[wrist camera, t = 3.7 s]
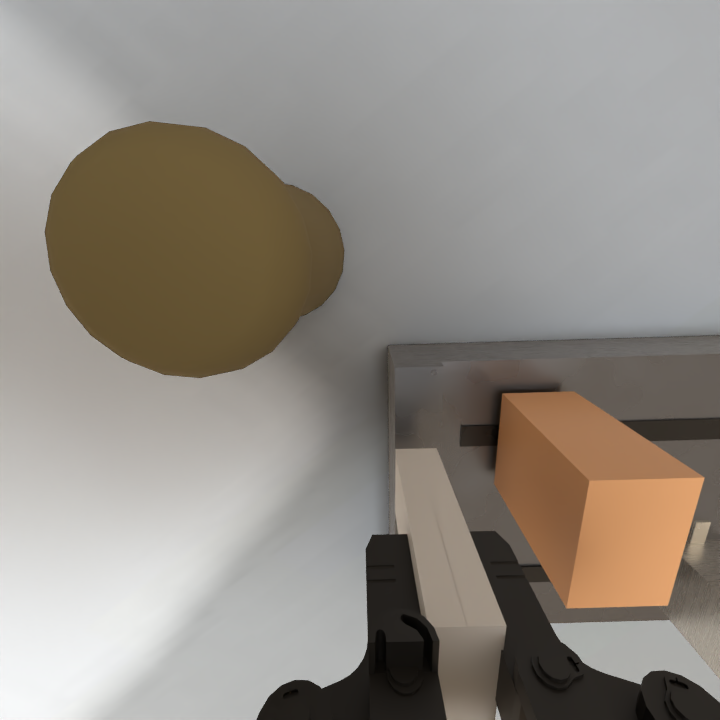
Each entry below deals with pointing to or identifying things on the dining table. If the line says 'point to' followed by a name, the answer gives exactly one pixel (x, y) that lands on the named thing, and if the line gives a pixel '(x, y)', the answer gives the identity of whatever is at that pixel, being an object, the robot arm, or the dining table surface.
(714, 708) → the robot arm
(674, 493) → the fader
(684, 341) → the slider panel
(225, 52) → the dining table surface
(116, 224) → the cork
